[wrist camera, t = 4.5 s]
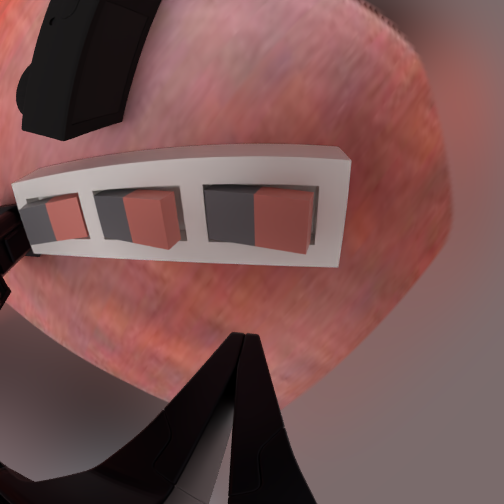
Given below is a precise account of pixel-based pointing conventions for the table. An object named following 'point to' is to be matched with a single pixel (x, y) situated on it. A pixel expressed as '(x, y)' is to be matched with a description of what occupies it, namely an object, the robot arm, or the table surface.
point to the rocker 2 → (139, 216)
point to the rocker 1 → (54, 219)
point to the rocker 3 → (260, 216)
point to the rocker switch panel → (201, 198)
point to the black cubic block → (83, 65)
